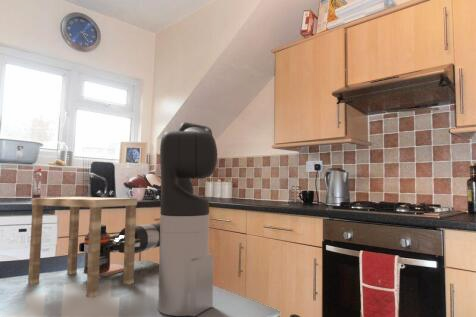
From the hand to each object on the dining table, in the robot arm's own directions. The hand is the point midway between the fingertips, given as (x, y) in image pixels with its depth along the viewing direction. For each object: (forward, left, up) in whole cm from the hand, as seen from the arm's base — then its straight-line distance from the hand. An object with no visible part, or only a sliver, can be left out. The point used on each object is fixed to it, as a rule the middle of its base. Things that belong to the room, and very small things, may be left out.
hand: (89, 248), depth 81 cm
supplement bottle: (0, -2, -6) cm, 7 cm away
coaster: (+4, -9, -8) cm, 12 cm away
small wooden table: (0, +2, -8) cm, 8 cm away
